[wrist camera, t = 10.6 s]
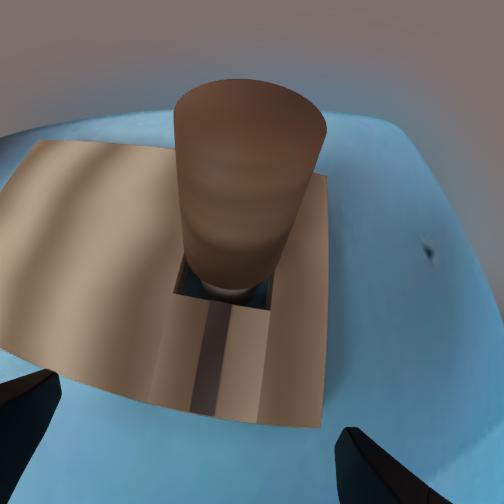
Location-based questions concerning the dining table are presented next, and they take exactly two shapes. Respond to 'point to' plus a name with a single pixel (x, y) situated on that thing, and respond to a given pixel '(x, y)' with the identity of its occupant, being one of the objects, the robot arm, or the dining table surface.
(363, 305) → the dining table surface
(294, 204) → the brown wooden peg
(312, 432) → the dining table surface
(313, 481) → the dining table surface
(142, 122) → the dining table surface
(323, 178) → the board
